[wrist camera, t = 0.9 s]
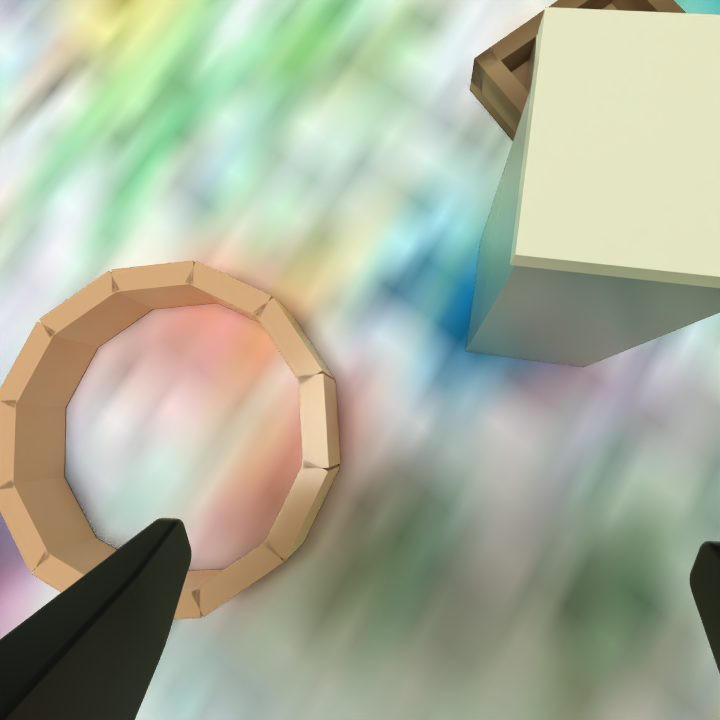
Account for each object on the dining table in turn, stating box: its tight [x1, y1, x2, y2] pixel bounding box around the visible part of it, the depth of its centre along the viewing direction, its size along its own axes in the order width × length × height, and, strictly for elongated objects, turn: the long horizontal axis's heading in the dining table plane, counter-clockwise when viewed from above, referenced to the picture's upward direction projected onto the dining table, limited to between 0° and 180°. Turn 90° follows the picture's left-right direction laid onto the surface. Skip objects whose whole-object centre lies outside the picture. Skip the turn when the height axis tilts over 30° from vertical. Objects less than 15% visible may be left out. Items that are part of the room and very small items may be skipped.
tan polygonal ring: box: [0, 261, 341, 619], centre depth 22 cm, size 14×14×3 cm
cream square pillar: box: [466, 7, 720, 367], centre depth 16 cm, size 5×5×13 cm
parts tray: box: [470, 0, 686, 140], centre depth 22 cm, size 8×8×2 cm
